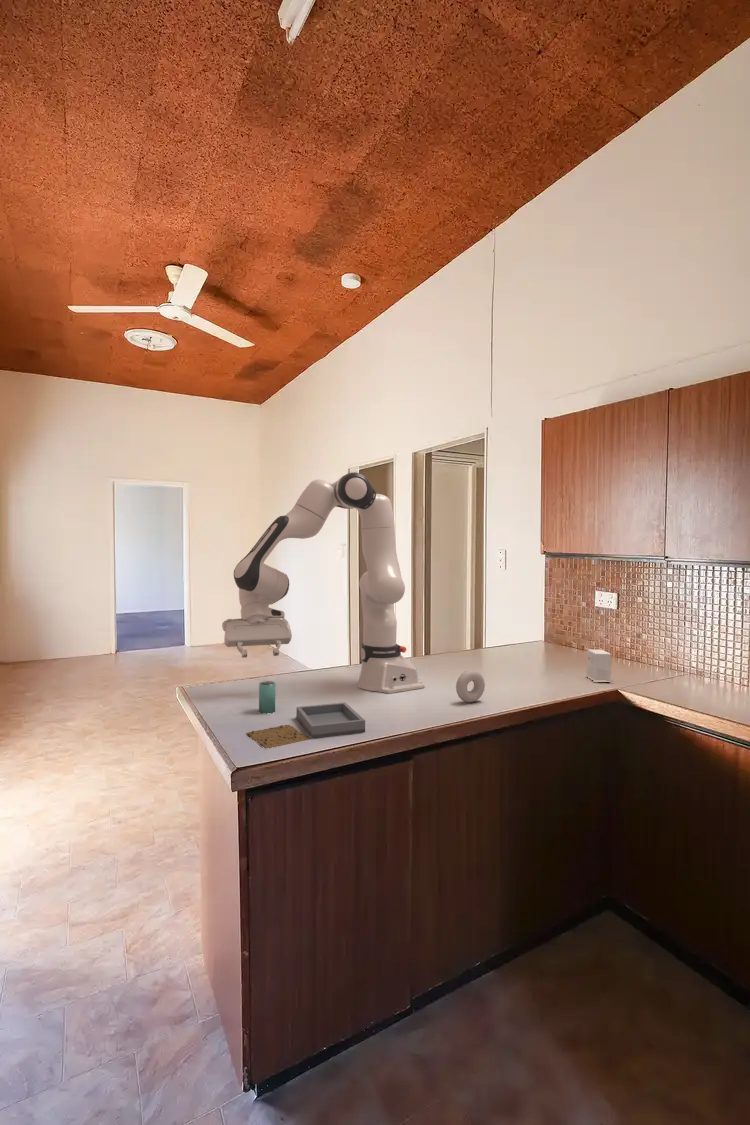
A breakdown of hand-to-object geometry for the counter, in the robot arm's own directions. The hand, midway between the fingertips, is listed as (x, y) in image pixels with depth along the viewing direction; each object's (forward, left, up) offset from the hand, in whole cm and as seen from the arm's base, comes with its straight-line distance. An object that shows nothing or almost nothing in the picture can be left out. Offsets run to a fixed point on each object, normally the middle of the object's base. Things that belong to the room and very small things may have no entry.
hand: (260, 655), depth 162 cm
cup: (0, +11, -13) cm, 17 cm away
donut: (-60, +21, -14) cm, 65 cm away
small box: (-119, +12, -14) cm, 120 cm away
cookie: (+1, +31, -14) cm, 34 cm away
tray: (-14, +27, -13) cm, 33 cm away
